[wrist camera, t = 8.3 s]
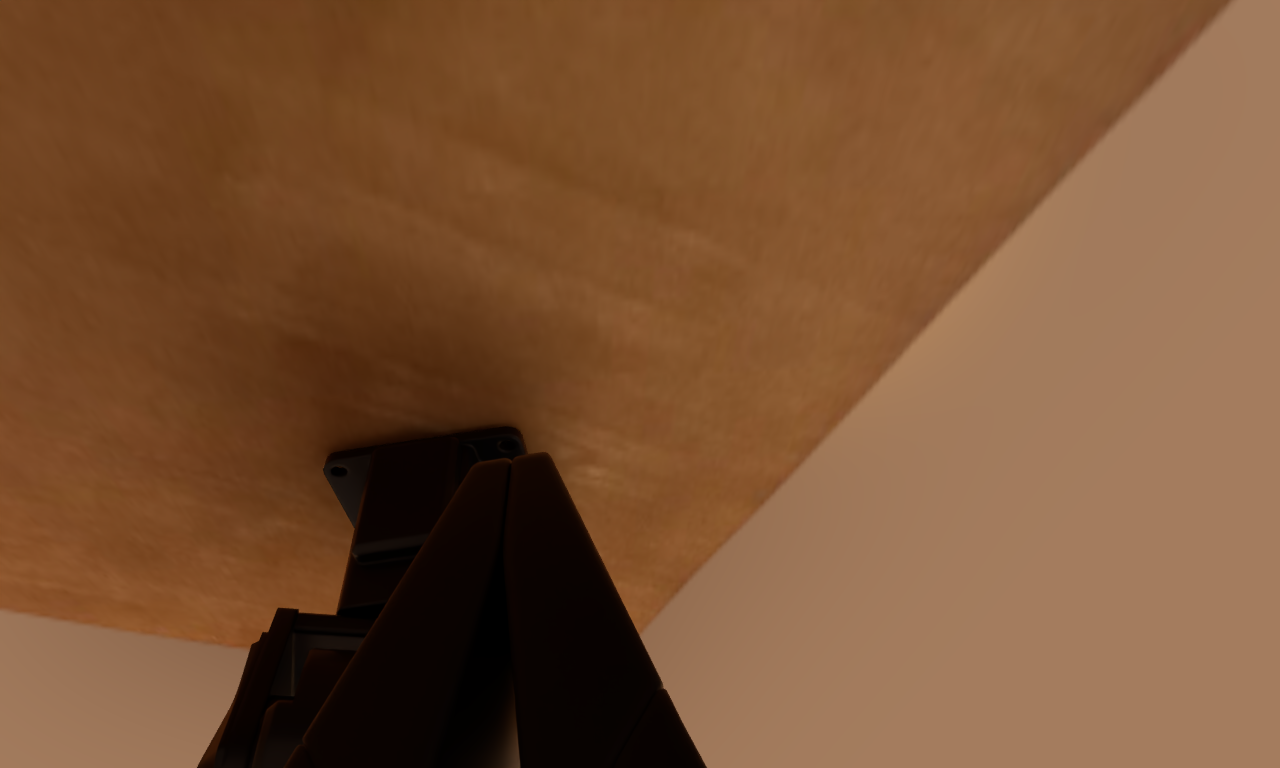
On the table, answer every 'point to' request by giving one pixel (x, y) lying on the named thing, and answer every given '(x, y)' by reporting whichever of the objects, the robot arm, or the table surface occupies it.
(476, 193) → the table surface
